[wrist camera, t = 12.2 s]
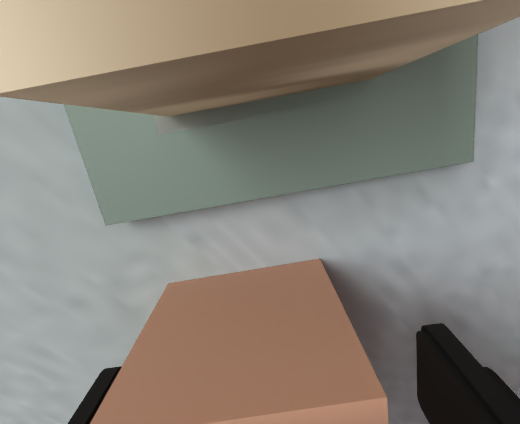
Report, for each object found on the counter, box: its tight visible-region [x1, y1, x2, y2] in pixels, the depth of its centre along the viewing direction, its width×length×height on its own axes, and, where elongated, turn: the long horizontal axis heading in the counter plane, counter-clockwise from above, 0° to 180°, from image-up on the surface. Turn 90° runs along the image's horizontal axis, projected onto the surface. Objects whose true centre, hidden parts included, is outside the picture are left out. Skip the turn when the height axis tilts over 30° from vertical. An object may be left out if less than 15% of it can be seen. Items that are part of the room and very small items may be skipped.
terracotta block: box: [90, 259, 389, 424], centre depth 9 cm, size 6×6×6 cm
